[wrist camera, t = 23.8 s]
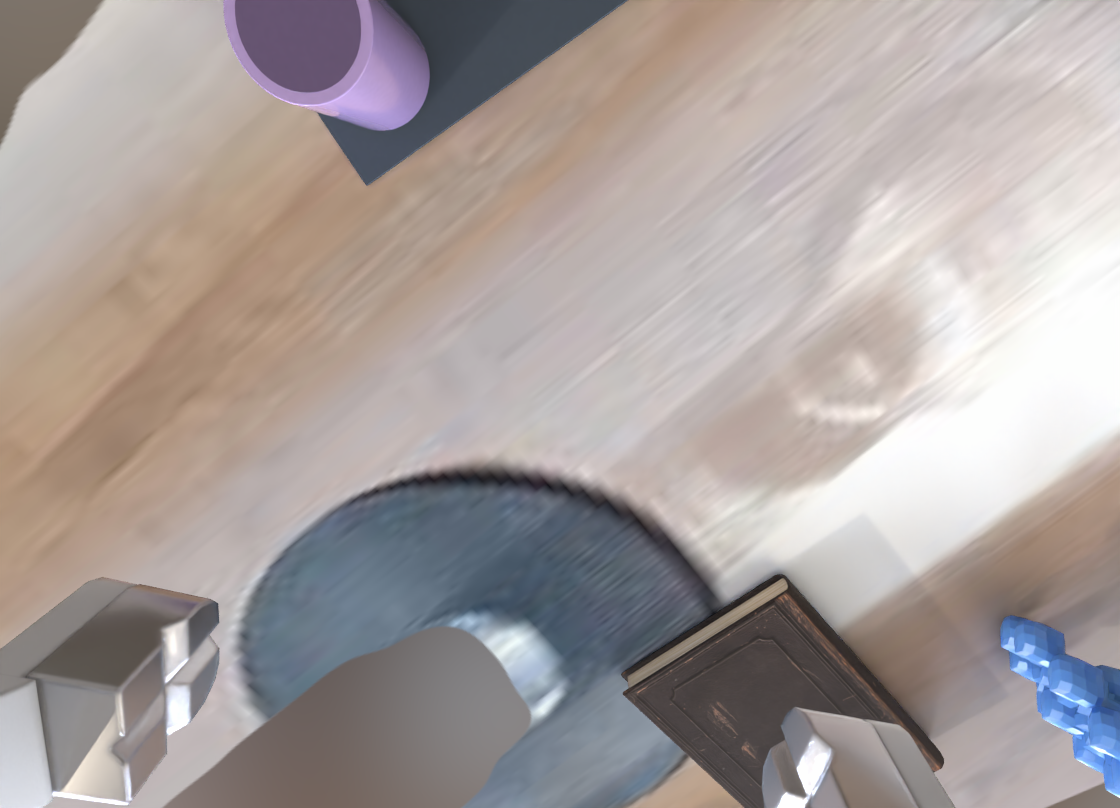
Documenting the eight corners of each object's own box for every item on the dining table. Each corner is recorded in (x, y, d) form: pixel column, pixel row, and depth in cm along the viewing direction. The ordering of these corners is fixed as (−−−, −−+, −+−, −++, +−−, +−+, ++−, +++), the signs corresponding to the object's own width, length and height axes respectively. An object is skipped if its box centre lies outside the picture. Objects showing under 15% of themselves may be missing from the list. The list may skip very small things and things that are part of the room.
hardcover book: (777, 820, 53) (785, 846, 51) (621, 673, 48) (623, 695, 45) (932, 740, 49) (949, 765, 47) (782, 570, 44) (793, 589, 42)
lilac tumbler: (388, -16, 31) (306, -108, 22) (453, 92, 33) (402, 49, 24) (303, 52, 33) (190, -7, 23) (369, 153, 34) (290, 135, 25)
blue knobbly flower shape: (1092, 671, 46) (1258, 824, 35) (1008, 702, 47) (1142, 859, 36) (1050, 567, 43) (1219, 699, 32) (961, 604, 44) (1093, 743, 33)
